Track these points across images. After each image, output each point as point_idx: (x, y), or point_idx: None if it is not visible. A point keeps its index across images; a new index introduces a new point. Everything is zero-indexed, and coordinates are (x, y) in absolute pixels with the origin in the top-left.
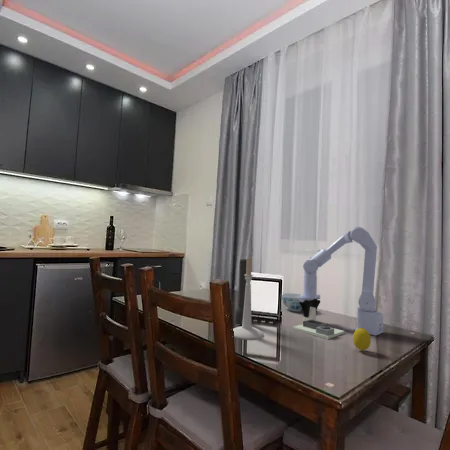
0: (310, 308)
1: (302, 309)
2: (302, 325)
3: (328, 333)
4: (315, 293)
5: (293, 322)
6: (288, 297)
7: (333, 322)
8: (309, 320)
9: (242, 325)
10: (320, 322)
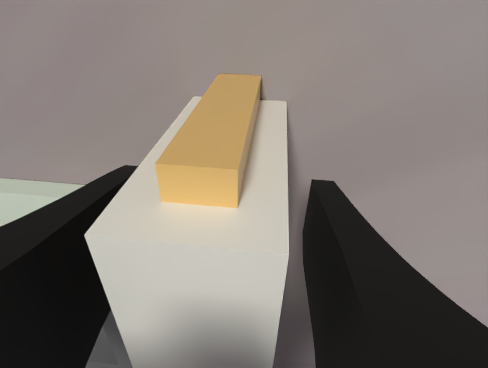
0: (129, 352)
1: (20, 228)
2: (7, 213)
3: None
4: None
5: (62, 14)
6: None
7: (462, 286)
8: None
9: None
10: (111, 341)
